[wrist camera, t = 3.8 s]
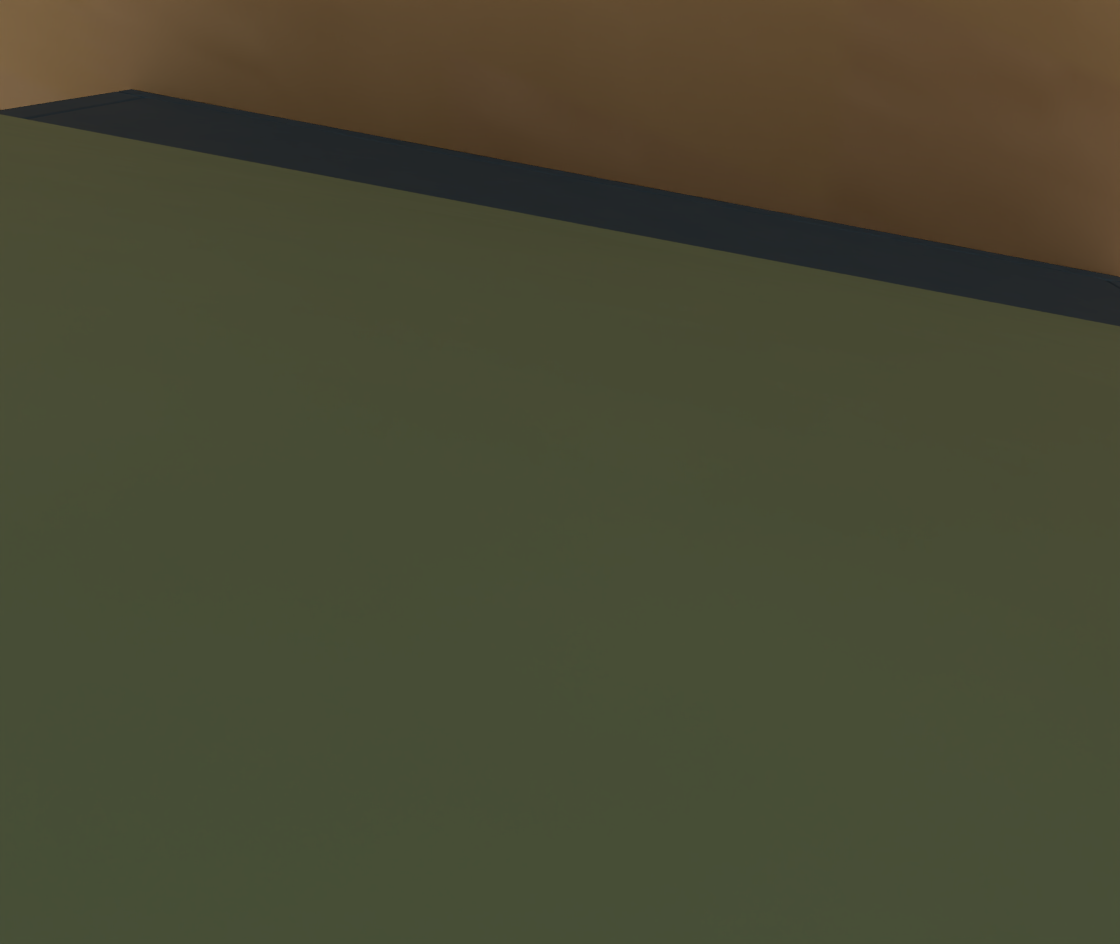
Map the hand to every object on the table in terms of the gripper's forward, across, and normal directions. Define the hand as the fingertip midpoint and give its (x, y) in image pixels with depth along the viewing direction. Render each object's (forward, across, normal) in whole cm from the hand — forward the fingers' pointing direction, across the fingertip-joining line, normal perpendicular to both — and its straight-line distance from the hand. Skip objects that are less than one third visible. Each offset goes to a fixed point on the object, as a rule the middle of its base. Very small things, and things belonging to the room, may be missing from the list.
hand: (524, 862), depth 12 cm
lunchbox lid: (-3, 0, +8) cm, 8 cm away
